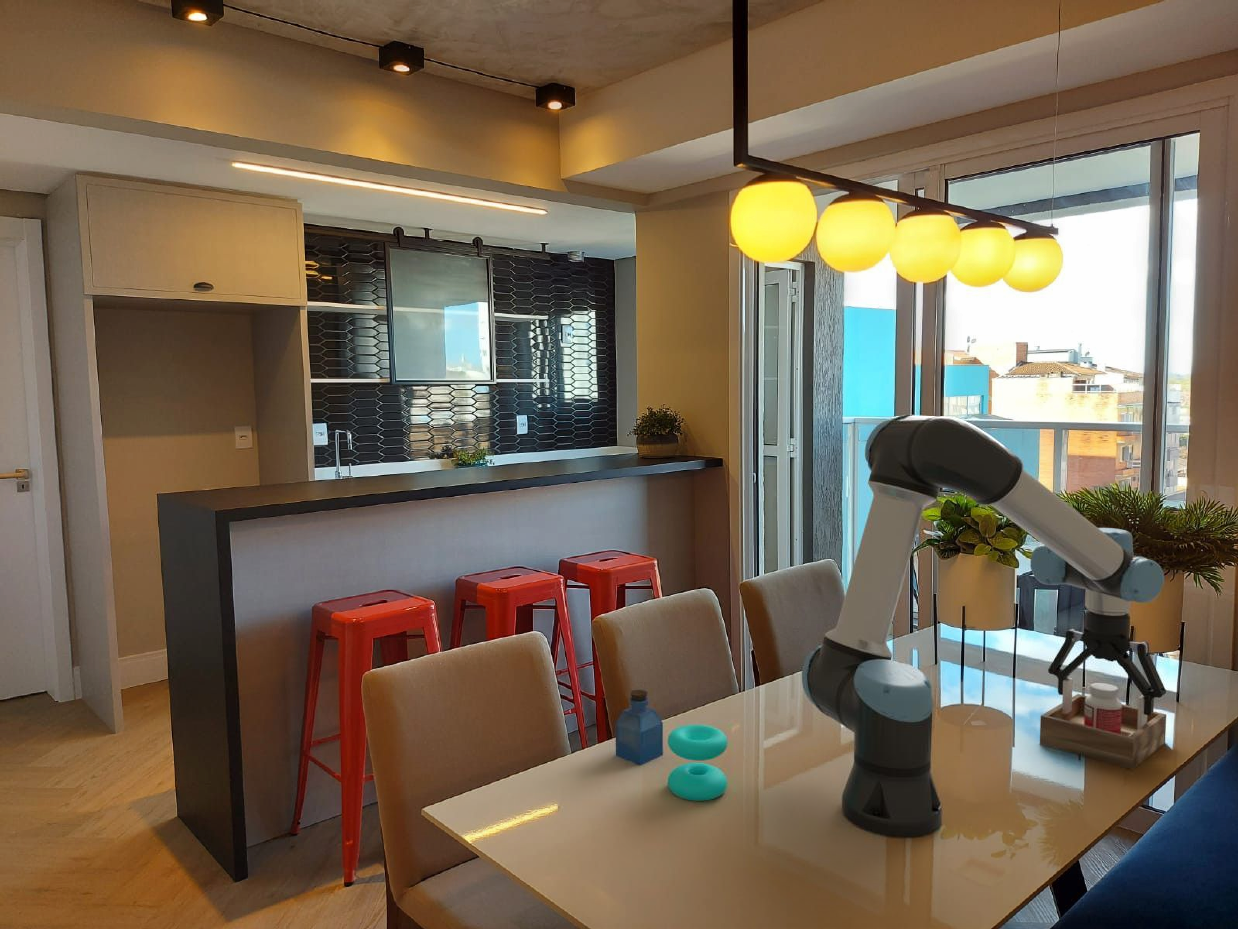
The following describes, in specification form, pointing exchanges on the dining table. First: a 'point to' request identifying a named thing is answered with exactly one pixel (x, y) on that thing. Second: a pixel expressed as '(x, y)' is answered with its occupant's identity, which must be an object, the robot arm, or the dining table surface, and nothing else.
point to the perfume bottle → (639, 731)
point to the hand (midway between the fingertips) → (1103, 721)
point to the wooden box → (1103, 735)
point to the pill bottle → (1103, 708)
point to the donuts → (697, 777)
